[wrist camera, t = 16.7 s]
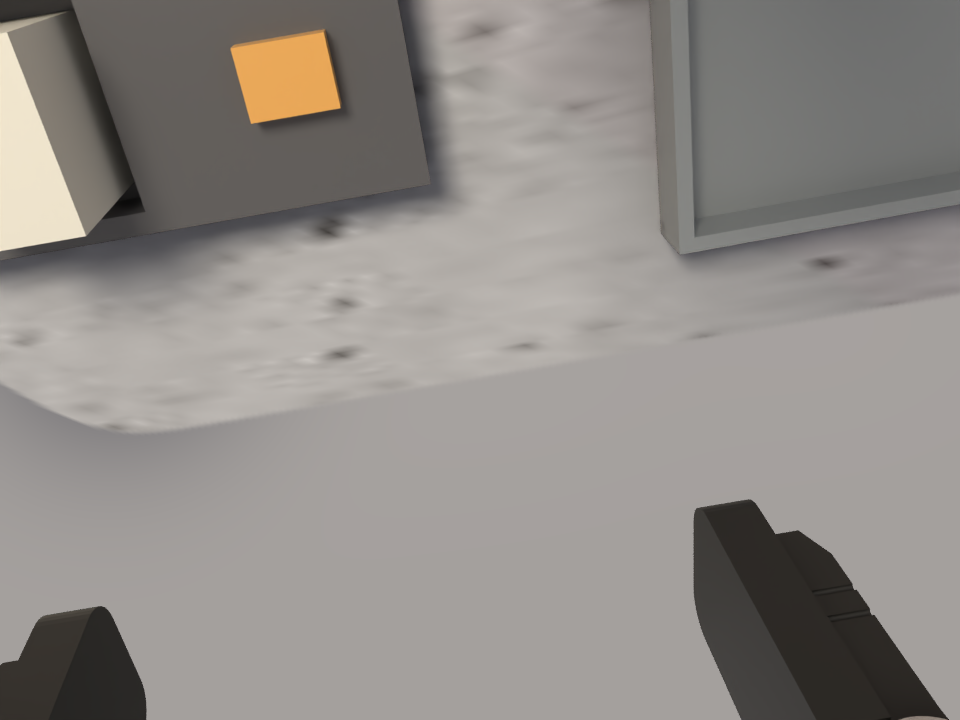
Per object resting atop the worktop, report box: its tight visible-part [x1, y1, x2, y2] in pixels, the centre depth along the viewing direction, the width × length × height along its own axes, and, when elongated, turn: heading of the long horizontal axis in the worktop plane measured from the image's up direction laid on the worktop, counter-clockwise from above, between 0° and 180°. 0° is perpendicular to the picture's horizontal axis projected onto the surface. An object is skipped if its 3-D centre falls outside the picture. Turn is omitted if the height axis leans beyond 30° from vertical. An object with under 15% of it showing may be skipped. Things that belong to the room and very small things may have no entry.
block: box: [0, 10, 134, 251], centre depth 28 cm, size 6×4×6 cm
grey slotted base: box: [0, 0, 431, 260], centre depth 29 cm, size 9×18×3 cm, turn 99°
